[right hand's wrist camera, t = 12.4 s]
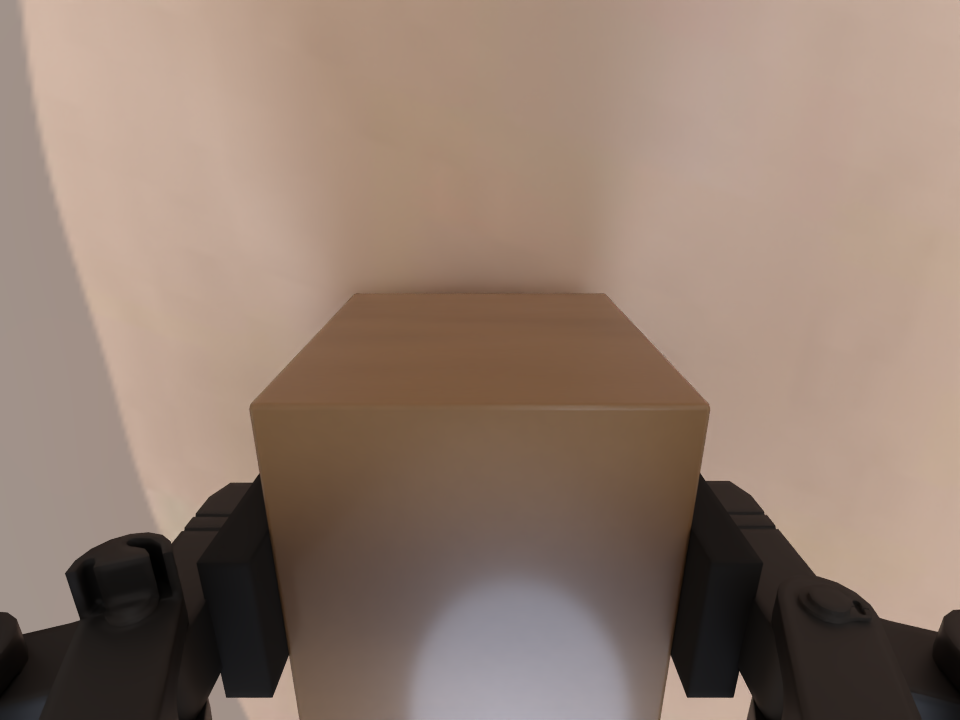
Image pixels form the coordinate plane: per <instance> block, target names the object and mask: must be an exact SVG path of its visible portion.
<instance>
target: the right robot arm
mask: <svg viewBox="0 0 960 720" xmlns="http://www.w3.org/2000/svg"><path fill="white" fill-rule="evenodd" d="M65 575H66V577H67V581H68V584H69V587H70V590H71V593H72V596H73V599H74V602H75V605H76V608H77V611H78V614H79V617H80V621H76V622H73V623H69V624H65V625H61V626H56V627H52V628H48V629H44V630H39V631H35V632H31V633H26V634H22V632H21V629H20V627H19V624H18V622H17V619H16V618H14V617H13V616H12V615H10V614H9V613H6V612H0V720H212V715H211V708H210V704H209V699H208V697H209V695H210V693H211V691H212V689H213V687H214V685H215V683H216V681H217V679H218V677H219V675H220V673H221V676H222V681H223V685H224V690H225V694H226V697H227V698H272V697H273V695H274V692H275V690H276V687H277V684H278V682H279V679H280V677H281V674H282V672H283V669H284V666H285V664H286V661H287V659H288V656H289V651H288V645H287V638H286V632H285V626H284V620H283V614H282V608H281V601H280V595H279V589H278V583H277V577H276V570H275V564H274V558H273V552H272V546H271V540H270V533H269V527H268V521H267V515H266V509H265V502H264V496H263V490H262V484H261V478H260V473H259V475H258V476H257V478H256V479H255V480H254V482H253V483H229V484H228V485H226V486H225V487H224V488H222V489H221V490H219V491H218V492H216V493H215V494H213V495H212V496H210V497H209V498H208V499H207V500H206V502H205V503H204V504H203V505H202V507H201V508H200V509H199V510H198V512H197V513H196V517H193V518H192V519H191V520H190V522H189V523H188V524H187V525H186V527H185V530H184V531H182V532H181V533H180V534H179V535H178V537H177V538H176V539H175V540H174V541H173V543H172V544H171V541H169V540H168V539H167V538H166V537H164V536H163V535H160V534H155V533H149V532H147V533H136V534H129V535H125V536H122V537H118V538H115V539H111V540H109V541H107V542H105V543H103V544H100V545H98V546H96V547H94V548H92V549H90V550H89V551H88V552H86V553H85V554H84V555H82V556H81V557H79V558H78V559H77V560H75V561H74V563H73V564H72V565H71V567H70V568H69V569H68V570H67V572H66V573H65ZM671 657H672V659H673V662H674V664H675V667H676V670H677V672H678V675H679V677H680V680H681V683H682V685H683V688H684V690H685V693H686V696H687V698H733V697H734V693H735V688H736V684H737V679H738V675H739V671H740V673H741V675H742V677H743V679H744V681H745V683H746V684H747V686H748V688H749V690H750V692H751V694H752V699H751V704H750V708H749V712H748V716H747V720H960V610H953V611H951V612H950V613H948V614H947V615H946V616H944V618H943V620H942V623H941V626H940V628H939V631H938V632H935V631H931V630H927V629H922V628H918V627H914V626H909V625H905V624H901V623H896V622H892V621H888V620H885V619H882V618H879V617H878V615H877V614H876V612H875V611H874V609H873V608H872V606H871V605H870V604H869V603H868V602H866V601H865V600H864V599H863V598H862V597H860V596H859V595H858V594H857V593H856V592H854V591H852V590H850V589H848V588H846V587H844V586H843V585H841V584H839V583H837V582H834V581H831V580H828V579H824V578H821V577H818V576H816V575H815V574H814V573H813V571H812V570H811V569H810V568H809V567H808V565H807V564H806V563H805V562H804V560H803V559H802V558H801V557H800V555H799V554H798V553H797V552H796V550H795V549H794V548H793V547H792V546H791V544H790V543H789V542H788V541H787V539H786V538H785V537H784V536H783V534H782V533H781V532H780V531H779V529H776V528H775V525H774V523H773V522H772V521H771V520H770V518H769V517H768V516H767V515H764V511H763V510H762V508H761V507H760V506H759V505H758V504H757V502H756V501H755V500H754V499H753V497H752V496H751V495H750V494H748V493H747V492H745V491H744V490H742V489H741V488H739V487H738V486H736V485H735V484H733V483H732V482H730V481H705V479H704V478H703V477H702V475H701V474H700V475H699V482H698V488H697V494H696V500H695V506H694V513H693V519H692V525H691V531H690V537H689V543H688V550H687V556H686V562H685V568H684V574H683V581H682V587H681V593H680V599H679V605H678V612H677V618H676V624H675V630H674V636H673V643H672V649H671Z"/></svg>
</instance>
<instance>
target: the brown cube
mask: <svg viewBox="0 0 960 720" xmlns="http://www.w3.org/2000/svg"><path fill="white" fill-rule="evenodd" d="M709 413H710V406H709V404H708V403H707V402H706V400H705V399H704V398H703V397H702V396H701V395H700V394H699V393H698V392H697V391H696V390H695V389H694V388H693V387H692V386H691V385H690V383H689V382H688V381H687V380H686V379H685V378H684V377H683V376H682V375H681V374H680V373H679V372H678V371H677V370H676V369H675V368H674V366H673V365H672V364H671V363H670V362H669V361H668V360H667V359H666V358H665V357H664V356H663V355H662V354H661V353H660V352H659V351H658V350H657V348H656V347H655V346H654V345H653V344H652V343H651V342H650V341H649V340H648V339H647V338H646V337H645V336H644V335H643V334H642V333H641V331H640V330H639V329H638V328H637V327H636V326H635V325H634V324H633V323H632V322H631V321H630V320H629V319H628V318H627V317H626V316H625V314H624V313H623V312H622V311H621V310H620V309H619V308H618V307H617V306H616V305H615V304H614V303H613V302H612V301H611V300H610V299H609V297H608V296H607V295H606V294H354V295H353V296H352V297H351V298H350V299H349V300H348V302H347V303H346V304H345V305H344V306H343V307H342V308H341V309H340V310H339V311H338V312H337V313H336V314H335V315H334V316H333V317H332V318H331V320H330V321H329V322H328V323H327V324H326V325H325V326H324V327H323V328H322V329H321V330H320V331H319V332H318V333H317V334H316V335H315V336H314V338H313V339H312V340H311V341H310V342H309V343H308V344H307V345H306V346H305V347H304V348H303V349H302V350H301V351H300V352H299V353H298V354H297V356H296V357H295V358H294V359H293V360H292V361H291V362H290V363H289V364H288V365H287V366H286V367H285V368H284V369H283V370H282V371H281V372H280V374H279V375H278V376H277V377H276V378H275V379H274V380H273V381H272V382H271V383H270V384H269V385H268V386H267V387H266V388H265V389H264V391H263V392H262V393H261V394H260V395H259V396H258V397H257V398H256V399H255V400H254V401H253V402H252V403H251V405H250V416H251V422H252V428H253V434H254V441H255V447H256V453H257V459H258V465H259V472H260V478H261V484H262V490H263V496H264V502H265V509H266V515H267V521H268V527H269V533H270V540H271V546H272V552H273V558H274V564H275V570H276V577H277V583H278V589H279V595H280V601H281V608H282V614H283V620H284V626H285V632H286V638H287V645H288V651H289V657H290V663H291V669H292V676H293V682H294V688H295V694H296V700H297V707H298V713H299V719H300V720H660V717H661V711H662V705H663V698H664V692H665V686H666V680H667V674H668V667H669V661H670V655H671V649H672V643H673V636H674V630H675V624H676V618H677V612H678V605H679V599H680V593H681V587H682V581H683V574H684V568H685V562H686V556H687V550H688V543H689V537H690V531H691V525H692V519H693V513H694V506H695V500H696V494H697V488H698V482H699V475H700V469H701V463H702V457H703V451H704V444H705V438H706V432H707V426H708V420H709Z"/></svg>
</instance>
